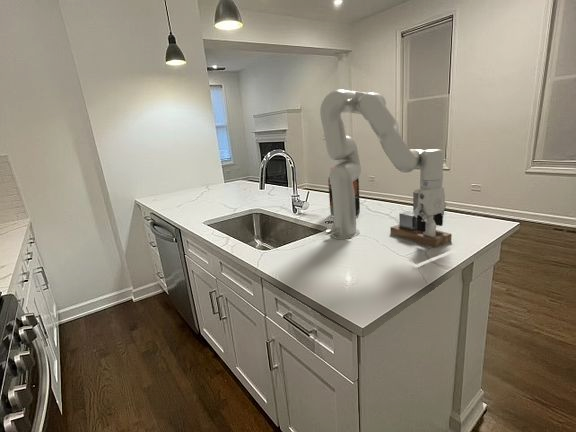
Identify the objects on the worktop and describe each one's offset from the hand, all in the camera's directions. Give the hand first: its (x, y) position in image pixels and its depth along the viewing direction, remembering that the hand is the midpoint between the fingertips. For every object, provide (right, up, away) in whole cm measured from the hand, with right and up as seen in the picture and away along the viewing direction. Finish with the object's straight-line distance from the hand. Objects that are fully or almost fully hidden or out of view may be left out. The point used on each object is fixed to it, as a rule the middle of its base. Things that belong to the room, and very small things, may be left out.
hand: (429, 228), depth 120 cm
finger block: (-4, -3, +9) cm, 11 cm away
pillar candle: (+11, +3, +31) cm, 33 cm away
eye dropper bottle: (0, -5, +1) cm, 5 cm away
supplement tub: (-23, +5, +50) cm, 55 cm away
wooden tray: (-2, -5, +6) cm, 8 cm away
